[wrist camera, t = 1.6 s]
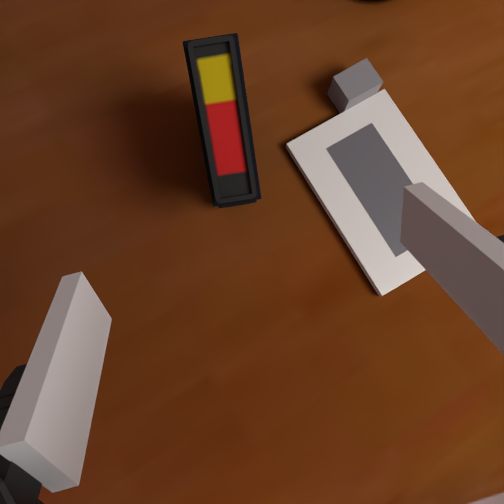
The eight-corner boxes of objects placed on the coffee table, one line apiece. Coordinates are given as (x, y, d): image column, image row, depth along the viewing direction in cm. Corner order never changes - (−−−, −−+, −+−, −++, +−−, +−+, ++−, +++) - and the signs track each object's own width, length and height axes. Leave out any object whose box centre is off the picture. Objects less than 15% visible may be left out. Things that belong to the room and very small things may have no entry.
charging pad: (271, 124, 38) (272, 109, 35) (366, 72, 39) (375, 53, 36) (378, 296, 36) (389, 295, 33) (478, 236, 37) (498, 230, 34)
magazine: (233, 70, 38) (238, 27, 23) (252, 195, 42) (266, 224, 27) (198, 76, 37) (180, 36, 23) (220, 200, 41) (216, 232, 27)
